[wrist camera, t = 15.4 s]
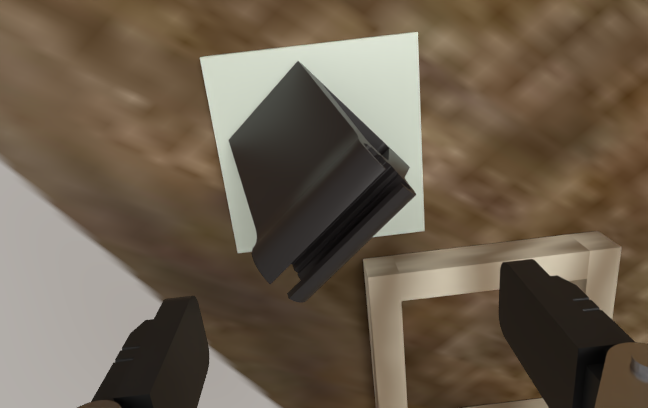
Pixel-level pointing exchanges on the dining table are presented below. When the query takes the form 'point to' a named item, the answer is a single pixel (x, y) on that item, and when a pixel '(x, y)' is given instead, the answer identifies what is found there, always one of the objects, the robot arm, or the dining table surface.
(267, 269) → the phone stand
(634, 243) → the dining table surface
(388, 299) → the pocket holder
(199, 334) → the robot arm
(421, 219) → the sage mat
